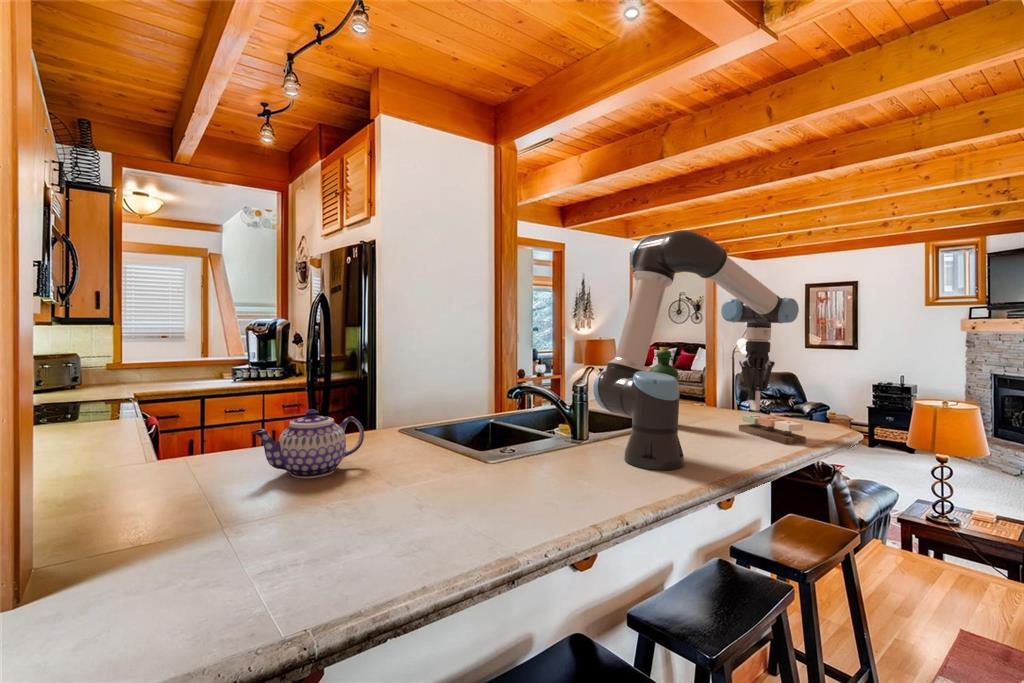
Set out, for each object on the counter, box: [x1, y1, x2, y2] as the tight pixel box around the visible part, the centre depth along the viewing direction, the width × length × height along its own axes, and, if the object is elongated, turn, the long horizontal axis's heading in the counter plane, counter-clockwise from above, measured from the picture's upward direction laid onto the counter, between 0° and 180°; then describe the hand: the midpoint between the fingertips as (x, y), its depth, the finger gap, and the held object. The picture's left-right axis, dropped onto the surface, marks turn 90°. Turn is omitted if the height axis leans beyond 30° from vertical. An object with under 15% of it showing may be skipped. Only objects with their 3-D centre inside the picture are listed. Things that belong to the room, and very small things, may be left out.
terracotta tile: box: [758, 416, 786, 432], centre depth 164 cm, size 6×6×4 cm
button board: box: [738, 423, 807, 445], centre depth 165 cm, size 8×20×2 cm, turn 17°
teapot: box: [253, 408, 365, 479], centre depth 118 cm, size 25×15×15 cm, turn 125°
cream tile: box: [774, 420, 804, 437], centre depth 158 cm, size 6×6×4 cm
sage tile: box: [742, 414, 763, 427], centre depth 171 cm, size 6×6×4 cm
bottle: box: [649, 346, 680, 382], centre depth 180 cm, size 11×11×28 cm
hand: (754, 409), depth 171 cm, fingers closed
